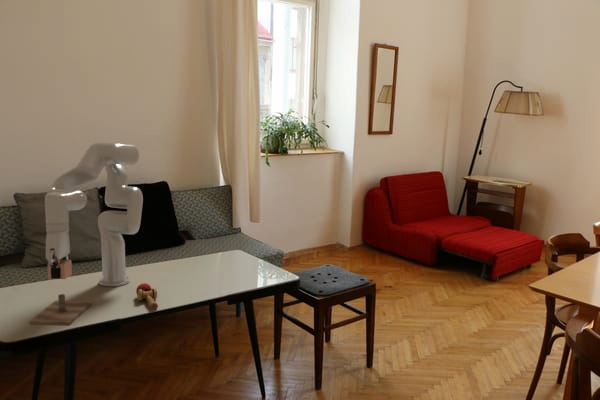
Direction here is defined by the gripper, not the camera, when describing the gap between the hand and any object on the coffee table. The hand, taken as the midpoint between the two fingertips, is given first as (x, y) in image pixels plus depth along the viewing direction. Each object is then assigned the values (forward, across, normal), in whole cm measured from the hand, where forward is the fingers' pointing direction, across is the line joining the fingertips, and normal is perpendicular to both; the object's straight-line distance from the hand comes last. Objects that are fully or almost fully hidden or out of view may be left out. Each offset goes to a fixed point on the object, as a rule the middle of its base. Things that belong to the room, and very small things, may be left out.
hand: (60, 275), depth 193 cm
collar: (+1, 0, 0) cm, 1 cm away
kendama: (+15, -13, +28) cm, 35 cm away
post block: (+15, 0, 0) cm, 15 cm away
